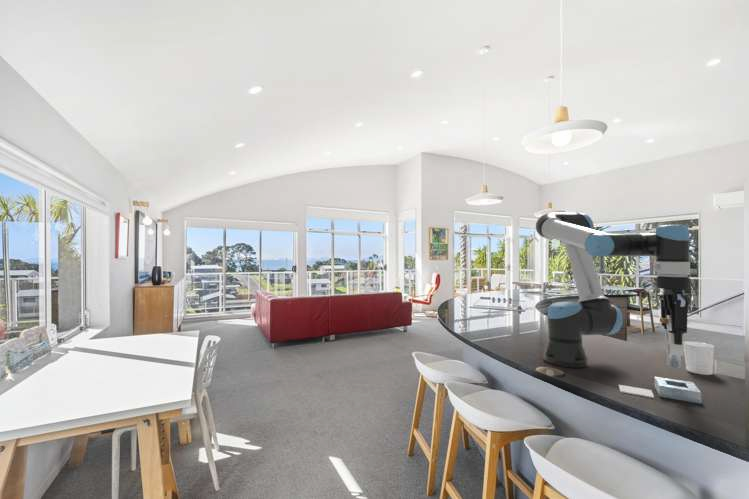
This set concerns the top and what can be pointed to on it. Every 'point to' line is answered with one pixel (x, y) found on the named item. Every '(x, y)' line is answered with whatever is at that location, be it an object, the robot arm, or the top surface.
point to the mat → (636, 391)
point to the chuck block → (677, 390)
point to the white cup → (699, 357)
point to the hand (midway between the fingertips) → (674, 353)
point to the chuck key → (671, 359)
